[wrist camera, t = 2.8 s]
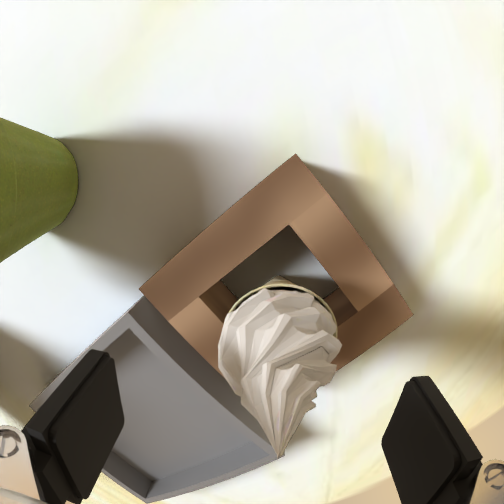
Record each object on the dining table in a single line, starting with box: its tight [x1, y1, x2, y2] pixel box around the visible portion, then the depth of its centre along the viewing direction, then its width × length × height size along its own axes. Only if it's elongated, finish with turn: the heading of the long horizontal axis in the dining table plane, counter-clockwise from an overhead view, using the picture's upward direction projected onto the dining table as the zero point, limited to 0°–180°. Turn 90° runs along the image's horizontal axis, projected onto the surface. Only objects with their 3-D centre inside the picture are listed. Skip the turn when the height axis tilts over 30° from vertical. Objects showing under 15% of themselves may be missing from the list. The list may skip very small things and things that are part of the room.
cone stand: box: [139, 154, 413, 378], centre depth 19 cm, size 11×11×4 cm
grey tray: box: [29, 295, 284, 503], centre depth 24 cm, size 16×18×4 cm
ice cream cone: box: [218, 275, 342, 458], centre depth 14 cm, size 5×5×15 cm
